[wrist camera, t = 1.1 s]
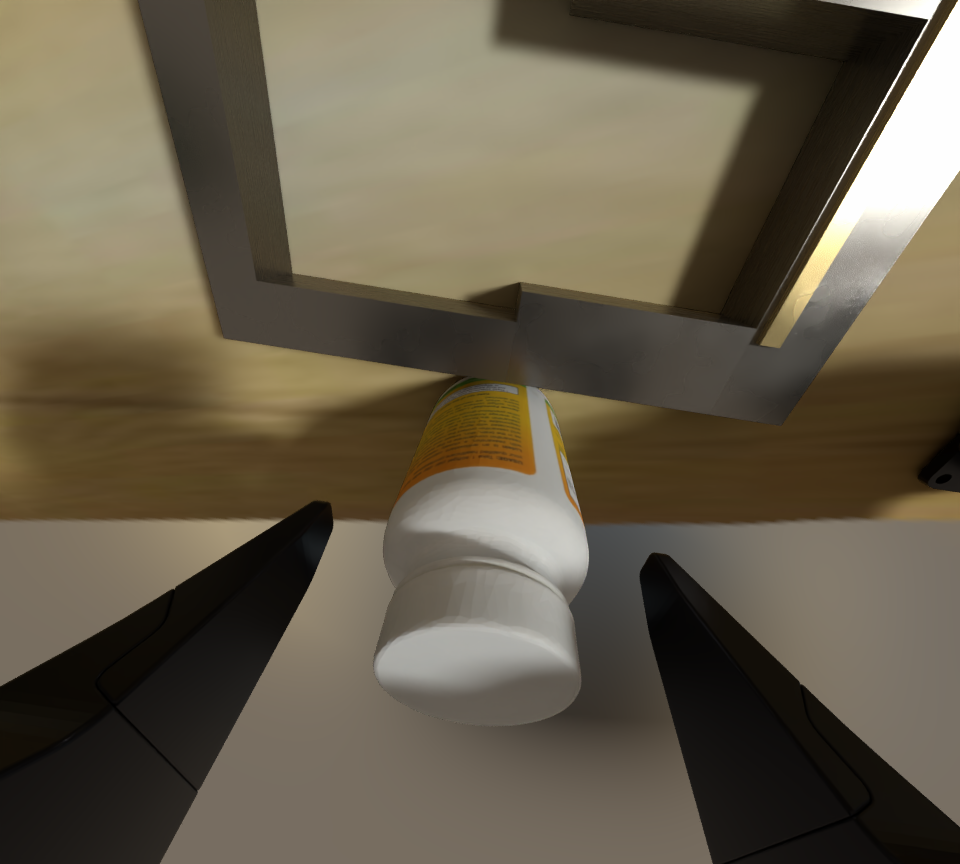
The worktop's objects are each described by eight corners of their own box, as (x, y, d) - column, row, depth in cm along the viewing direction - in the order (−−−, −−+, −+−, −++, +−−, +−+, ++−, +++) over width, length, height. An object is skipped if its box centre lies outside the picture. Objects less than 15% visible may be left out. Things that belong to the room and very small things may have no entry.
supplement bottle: (408, 434, 15) (289, 682, 7) (481, 340, 13) (432, 547, 5) (502, 494, 17) (496, 760, 8) (583, 420, 14) (689, 689, 6)
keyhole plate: (1058, -116, 7) (1259, -241, 5) (745, 400, 13) (785, 429, 11) (145, -276, 7) (7, -468, 5) (261, 323, 13) (219, 339, 11)
